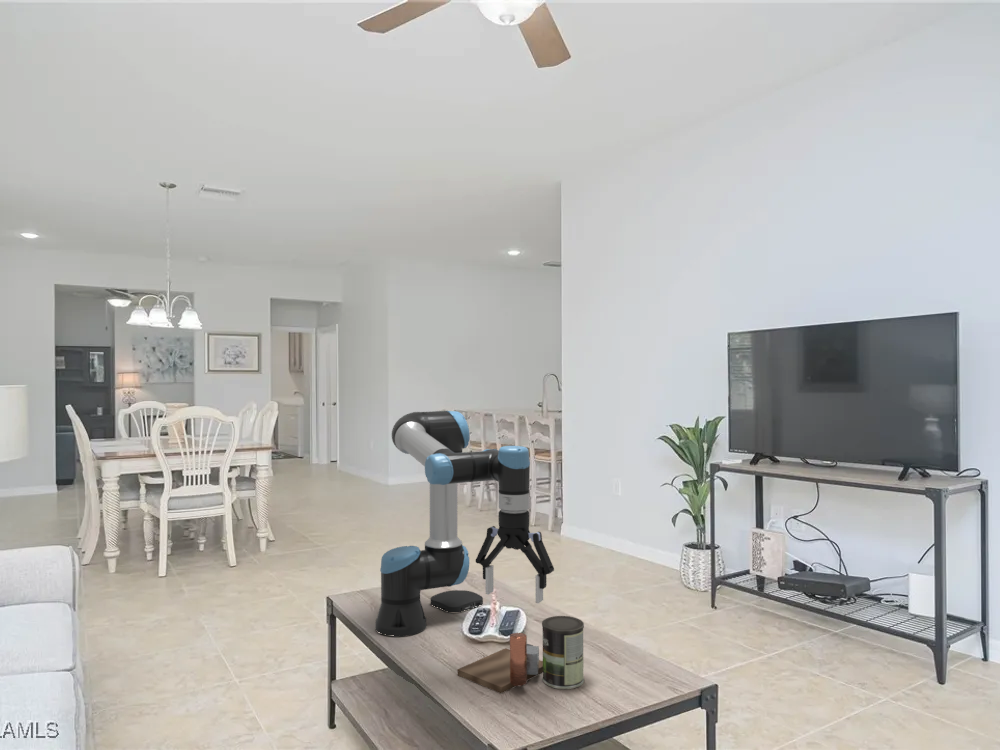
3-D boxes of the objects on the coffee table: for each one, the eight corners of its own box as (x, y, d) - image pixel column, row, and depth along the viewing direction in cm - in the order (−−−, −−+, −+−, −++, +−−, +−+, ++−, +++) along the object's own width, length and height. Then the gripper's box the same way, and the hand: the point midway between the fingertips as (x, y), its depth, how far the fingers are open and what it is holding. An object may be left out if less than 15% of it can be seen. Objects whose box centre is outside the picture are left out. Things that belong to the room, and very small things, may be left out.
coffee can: (543, 689, 161) (542, 630, 161) (541, 671, 171) (541, 615, 171) (586, 689, 161) (585, 630, 161) (582, 671, 171) (581, 615, 171)
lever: (513, 654, 177) (513, 612, 177) (540, 655, 176) (540, 613, 176) (505, 685, 159) (504, 638, 159) (535, 686, 158) (535, 639, 158)
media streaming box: (460, 595, 234) (459, 586, 234) (487, 605, 223) (487, 596, 223) (425, 605, 224) (425, 596, 224) (453, 616, 213) (453, 606, 213)
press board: (457, 675, 169) (457, 668, 169) (505, 653, 182) (505, 647, 182) (501, 693, 159) (501, 686, 159) (548, 669, 172) (548, 662, 172)
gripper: (462, 508, 167) (462, 593, 167) (554, 518, 155) (555, 610, 155) (477, 502, 173) (477, 585, 173) (567, 512, 162) (567, 600, 162)
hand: (513, 597), depth 164 cm, fingers open, 13 cm apart
